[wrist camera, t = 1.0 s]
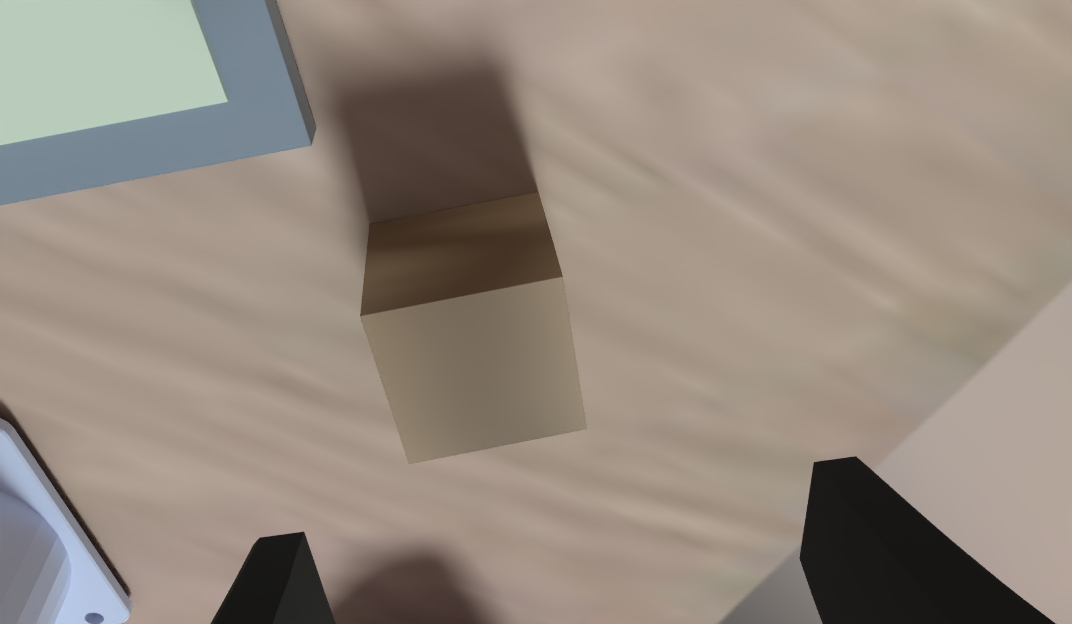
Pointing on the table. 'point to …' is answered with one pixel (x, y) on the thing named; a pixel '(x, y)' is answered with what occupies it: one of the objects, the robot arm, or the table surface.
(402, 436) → the brass cube
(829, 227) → the table surface
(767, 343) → the table surface
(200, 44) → the baseplate
